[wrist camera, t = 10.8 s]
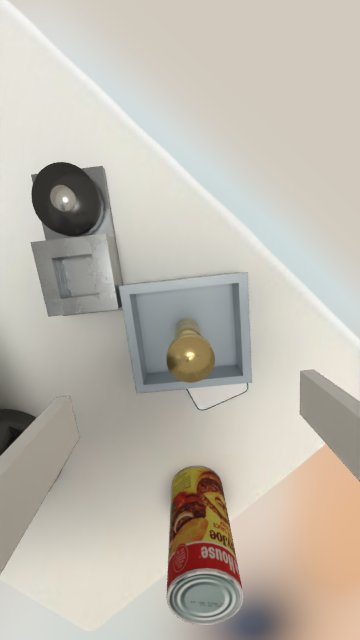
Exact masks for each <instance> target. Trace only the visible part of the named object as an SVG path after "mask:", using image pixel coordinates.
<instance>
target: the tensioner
mask: <svg viewBox="0 0 360 640" xmlns="http://www.w3.org/2000/svg"><path fill="white" fill-rule="evenodd" d="M31 177H32V181H33V187H32V203H33V207H34V209H35V212H36V214H37V216H38V217H39V219H40V220H41V221H42V225H43V230H44V234H45V238H46V241H38V242H31V246H32V250H33V254H34V258H35V263H36V267H37V271H38V275H39V279H40V283H41V287H42V292H43V296H44V300H45V304H46V308H47V312H48V316H58V315H63V316H66V315H75V314H85V313H94V312H104V311H113V310H123V308H122V302H121V296H120V290H119V286H122V285H123V282H122V276H121V270H120V264H119V257H118V251H117V245H116V239H115V233H114V226H113V220H112V214H111V208H110V202H109V195H108V189H107V183H106V177H105V171H104V168H103V166H99V167H90V168H82V169H80V168H79V167H77V166H75V165H73V164H70V163H65V162H57V163H53V164H50V165H48V166H46V167H45V168H43V169H42V170H41V171H40V172H39V173H38V174H34V175H31Z"/></svg>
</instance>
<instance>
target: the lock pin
mask: <svg viewBox="0 0 360 640" xmlns="http://www.w3.org/2000/svg"><path fill="white" fill-rule="evenodd" d="M166 363H167V367H168V369H169V371H170V373H171V374H172V375H173V376H174V377H175V378H176V379H178V380H180V381H183V382H187V383H194V382H198V381H201V380H203V379H205V378H206V377H207V376H208V375H209V374H210V373H211V372H212V370H213V368H214V364H215V355H214V352H213V349H212V347H211V345H210V343H209V342H208V340H207V339H205V338H204V337H203V336H202V335H201V332H200V329H199V327H198V324H197V323H196V321H194V320H193V319H190V318H184V319H182V320H180V321H179V322H178V323H177V325H176V328H175V338H174V340H173V341H172V342H171V344H170V345H169V348H168V351H167V358H166Z"/></svg>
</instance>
